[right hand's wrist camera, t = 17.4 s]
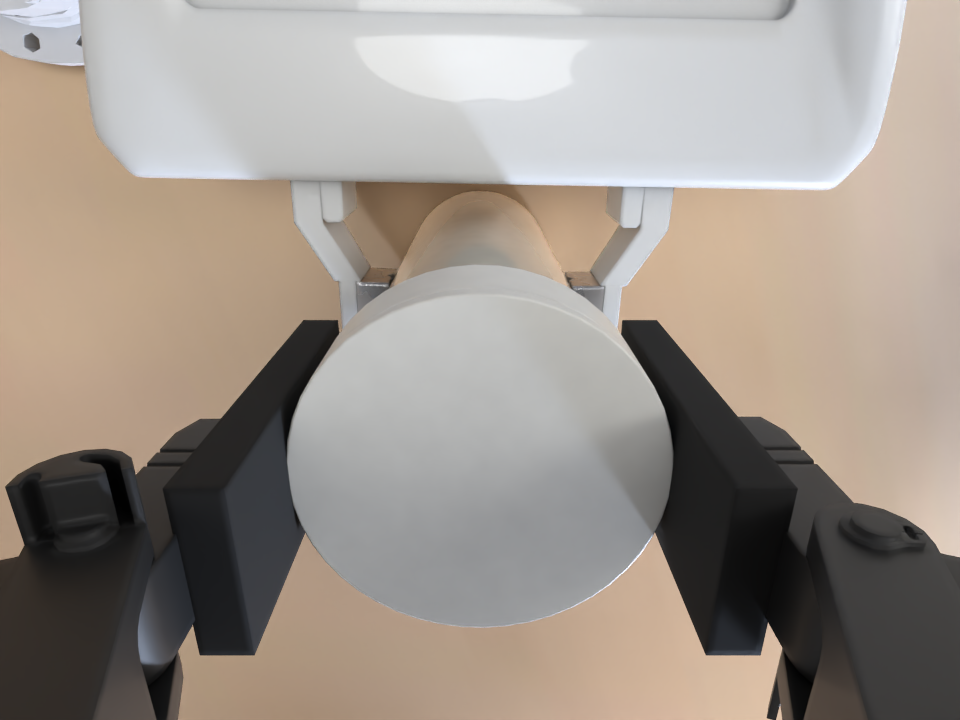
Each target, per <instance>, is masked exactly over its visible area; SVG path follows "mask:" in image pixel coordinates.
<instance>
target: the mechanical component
mask: <svg viewBox="0 0 960 720" xmlns="http://www.w3.org/2000/svg"><path fill="white" fill-rule="evenodd" d="M0 50H2V51H4V52H6V53H8V54H10V55H12V56H13V57H17V58H23V59H28V60H33V61H38V62H43V63H49V64H58V65H67V66H80V65H84V59H83V50H82V39H81V27H80V14H79V0H0Z"/></svg>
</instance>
